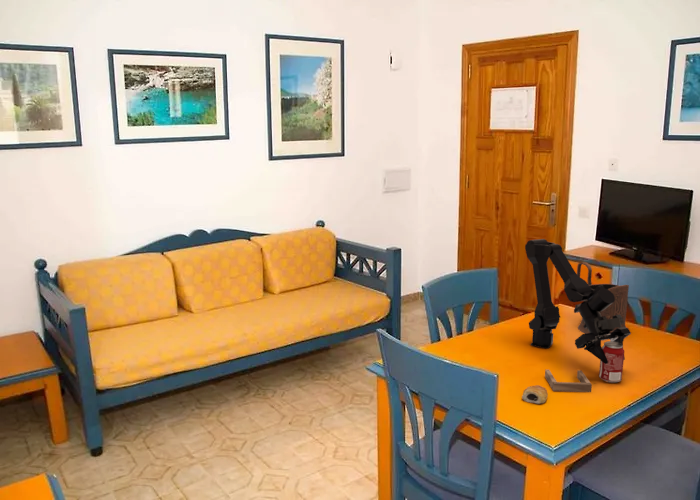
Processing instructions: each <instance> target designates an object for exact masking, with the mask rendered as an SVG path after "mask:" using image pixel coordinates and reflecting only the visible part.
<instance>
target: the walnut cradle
mask: <svg viewBox="0 0 700 500" xmlns="http://www.w3.org/2000/svg"><path fill="white" fill-rule="evenodd" d="M544 371H545V372H544V377H545V380H546V381H547V383H548V384H549V386H550V388H551V389H552V392H567V393H568V392H569V393H571V392H572V393H573V392H574V393H575V392H576V393H592V387H593V385H592V384H593V383H591V382H590V380H589V379H588V378H587V376H586V374H585V373H584V372H583V370H581V369H578V370H577V372H576V373H577V374H576V378H577V380H578V381H579V382H567V381H561V382H560V381H557V379H556V378H555V377H554V375H553V374H552V372H551V370H550V369H545V370H544Z"/></svg>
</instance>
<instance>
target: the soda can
mask: <svg viewBox="0 0 700 500" xmlns="http://www.w3.org/2000/svg"><path fill="white" fill-rule="evenodd" d="M603 344H604V345H602V346H601V347H602V349H603V352H604V354H605V356H606V358H607V360H608V363H607V364H605V363H603V362H602V361H601V360H600V359H599V360H600V362H599V369H598V370H599V373H598V377H599V379H600V380H602V381H604V382H606V383H611V384H614V383H616V384H617V383H618V382H621V381H622V379H623V371H624V361H625V360H624V357H625V349H624V344H623V345H622V344H621V343H618V342H613V341H610V340H609V341H608V340H607V341H604V342H603Z"/></svg>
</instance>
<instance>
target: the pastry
mask: <svg viewBox="0 0 700 500" xmlns="http://www.w3.org/2000/svg"><path fill="white" fill-rule="evenodd" d="M548 397H549V396H548V390H547V389H546V387H543V386H542V385H539V384H538V385H537V384H536V385H531V386H527V387H526V388H525V389H524V390H523V393H522V395H521V398H522V400H523V401H524V402H527V403H531V404H536V405H541V404H544V403H546V401H547V399H548Z"/></svg>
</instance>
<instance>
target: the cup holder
mask: <svg viewBox="0 0 700 500" xmlns="http://www.w3.org/2000/svg"><path fill="white" fill-rule="evenodd" d="M582 265H584V266H585V267H586V268H587V281H586V282H587V284H588V285H589V286H590V287H591V288H592V289H593V290H595V289H596V287H598V286H602V285H603V286H604V288H605V289H608V290H609V291H611V293H613V294H614V297H615V301H614V302H613V303H612V304H611V305H609V306H608V307H607V308H606V309H604V310H603V311H601V312H600V314H601V316H605V317H606V318H607V319H612V318H613V316H614V315H621V317H622V318H623V321H624V323H623V324H621V327H627V326H626V319H627V308H628V299H629V298H628V296H629V289H630V286H629V284H623V285H619V284H614V283H598V284H597V283H595V284H592V283H593V282H592V274H593V269H592V268H593V267H592V266H591V264H589V262H586V261H583V262H582V261H581V262H579V263H578V264H577V266H576V267H577V268H576V274H577V275H578V276H579V277H580V278H581V272H582V271H581V270H582ZM586 301H588V300H586ZM582 302H584V301H582ZM584 325H585V322H584V320H583V319H582V318H581V321H580V323H579V325H578V326H577V330H578V331H579V332H581V333H582V334H586V333H590V332H589V330H588V328H584ZM621 327H620V328H621ZM617 328H619V327H616V328H614V330H616V329H617ZM614 330H612V331H610V333H611V332H613V331H614ZM605 337H606V336H605Z"/></svg>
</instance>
